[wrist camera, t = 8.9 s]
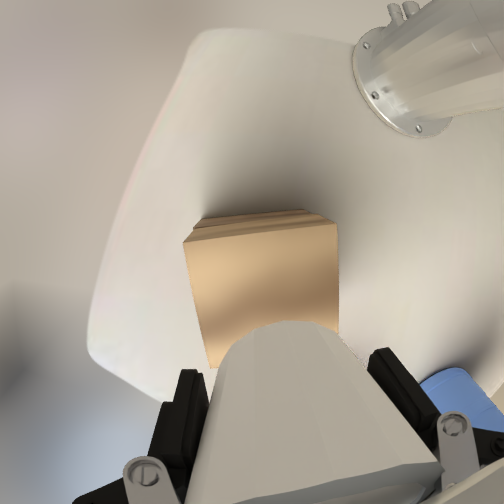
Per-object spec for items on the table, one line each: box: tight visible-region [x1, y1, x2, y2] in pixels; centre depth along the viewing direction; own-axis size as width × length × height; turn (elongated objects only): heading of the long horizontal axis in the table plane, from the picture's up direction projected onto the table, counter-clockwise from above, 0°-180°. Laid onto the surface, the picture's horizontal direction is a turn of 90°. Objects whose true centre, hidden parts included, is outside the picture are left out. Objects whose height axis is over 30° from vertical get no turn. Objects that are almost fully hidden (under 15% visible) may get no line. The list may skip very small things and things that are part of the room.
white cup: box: [184, 320, 445, 504], centre depth 7 cm, size 7×7×7 cm
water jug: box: [420, 368, 504, 432], centre depth 19 cm, size 16×16×28 cm
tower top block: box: [183, 214, 339, 369], centre depth 19 cm, size 9×9×4 cm
